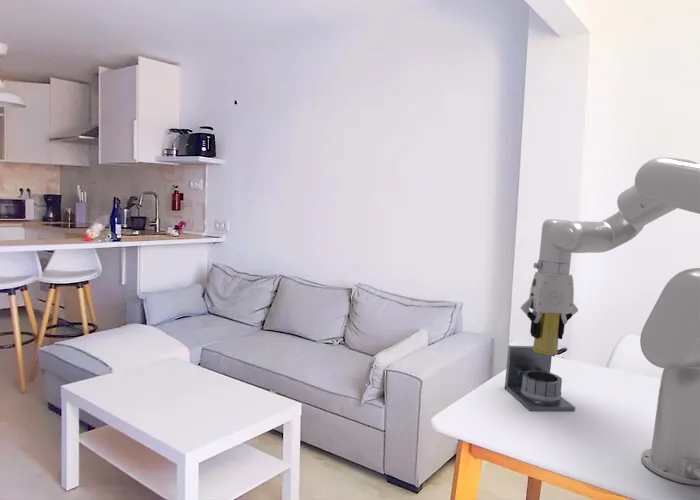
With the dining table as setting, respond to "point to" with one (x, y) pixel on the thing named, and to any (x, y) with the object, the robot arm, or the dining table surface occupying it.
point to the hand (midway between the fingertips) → (546, 336)
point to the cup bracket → (534, 380)
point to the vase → (548, 334)
